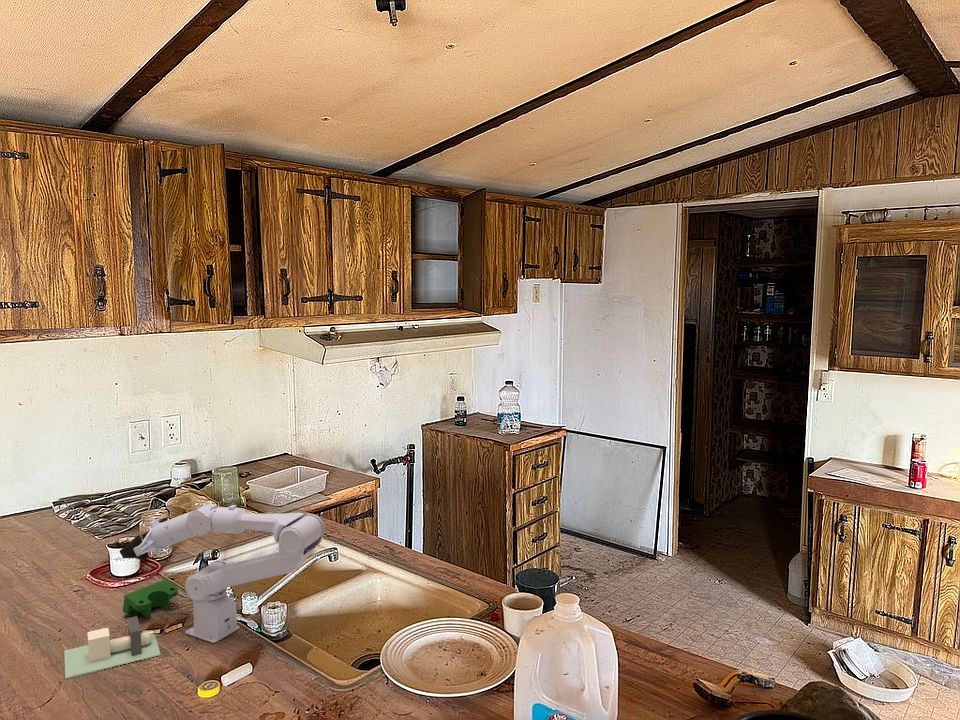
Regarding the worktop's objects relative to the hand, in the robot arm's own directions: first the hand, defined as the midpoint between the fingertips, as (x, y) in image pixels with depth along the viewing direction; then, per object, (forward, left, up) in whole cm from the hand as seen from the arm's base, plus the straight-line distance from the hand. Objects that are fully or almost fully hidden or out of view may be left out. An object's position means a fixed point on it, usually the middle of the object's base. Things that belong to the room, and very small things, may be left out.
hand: (133, 546), depth 165 cm
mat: (-10, +14, -18) cm, 25 cm away
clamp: (-1, -4, -18) cm, 19 cm away
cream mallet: (-11, +12, -18) cm, 24 cm away
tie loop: (-12, +10, -18) cm, 24 cm away
